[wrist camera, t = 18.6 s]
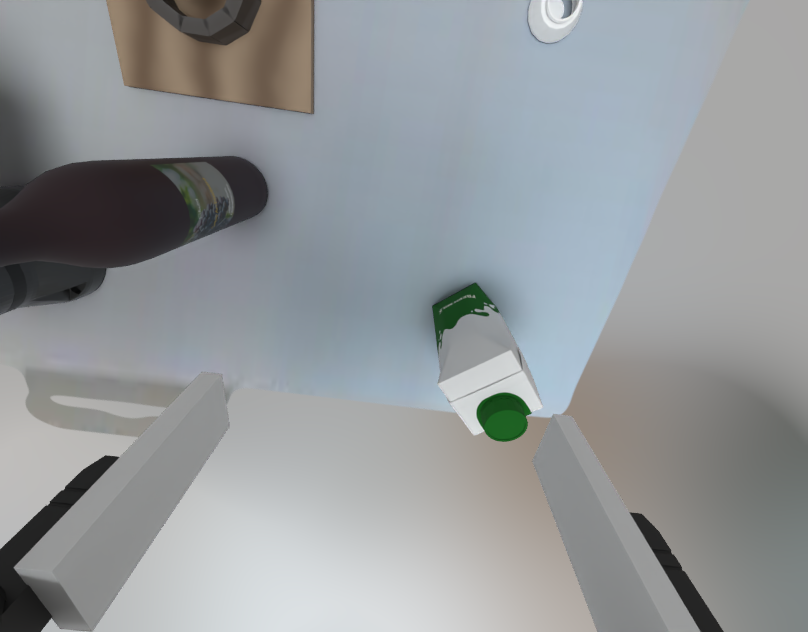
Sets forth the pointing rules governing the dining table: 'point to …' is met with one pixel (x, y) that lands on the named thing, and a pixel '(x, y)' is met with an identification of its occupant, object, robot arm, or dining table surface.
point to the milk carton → (483, 366)
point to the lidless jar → (552, 19)
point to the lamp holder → (219, 49)
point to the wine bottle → (126, 209)
